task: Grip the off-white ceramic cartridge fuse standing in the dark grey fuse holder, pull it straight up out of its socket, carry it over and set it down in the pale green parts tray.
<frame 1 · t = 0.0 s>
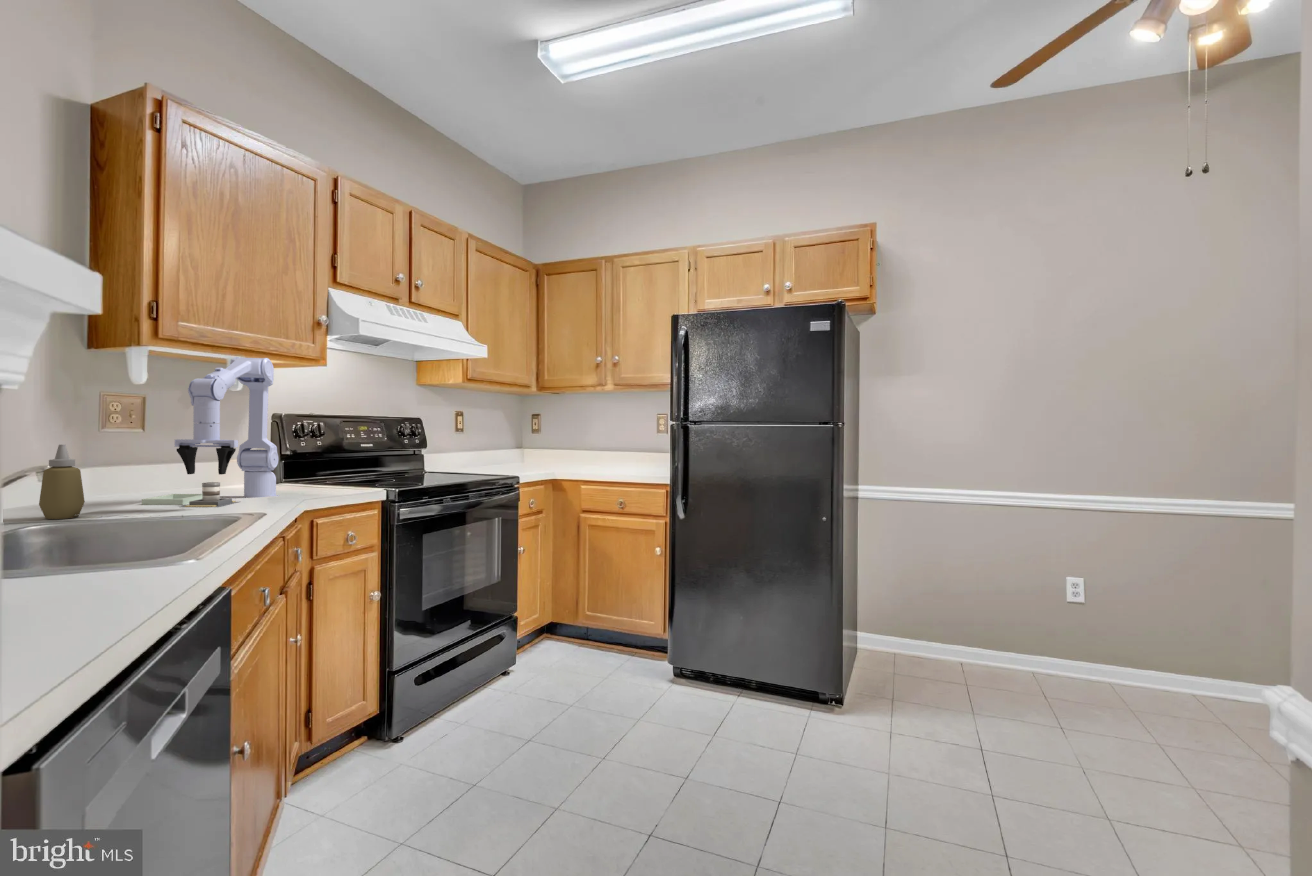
hand: (206, 474, 164), 10 cm above the worktop, fingers open, 7 cm apart
parts tray: (177, 505, 176), on the worktop
fuse: (211, 504, 172), point 1 cm above the worktop, touching fuse holder
fuse holder: (211, 507, 172), on the worktop
squeeze bottle: (62, 518, 151), on the worktop
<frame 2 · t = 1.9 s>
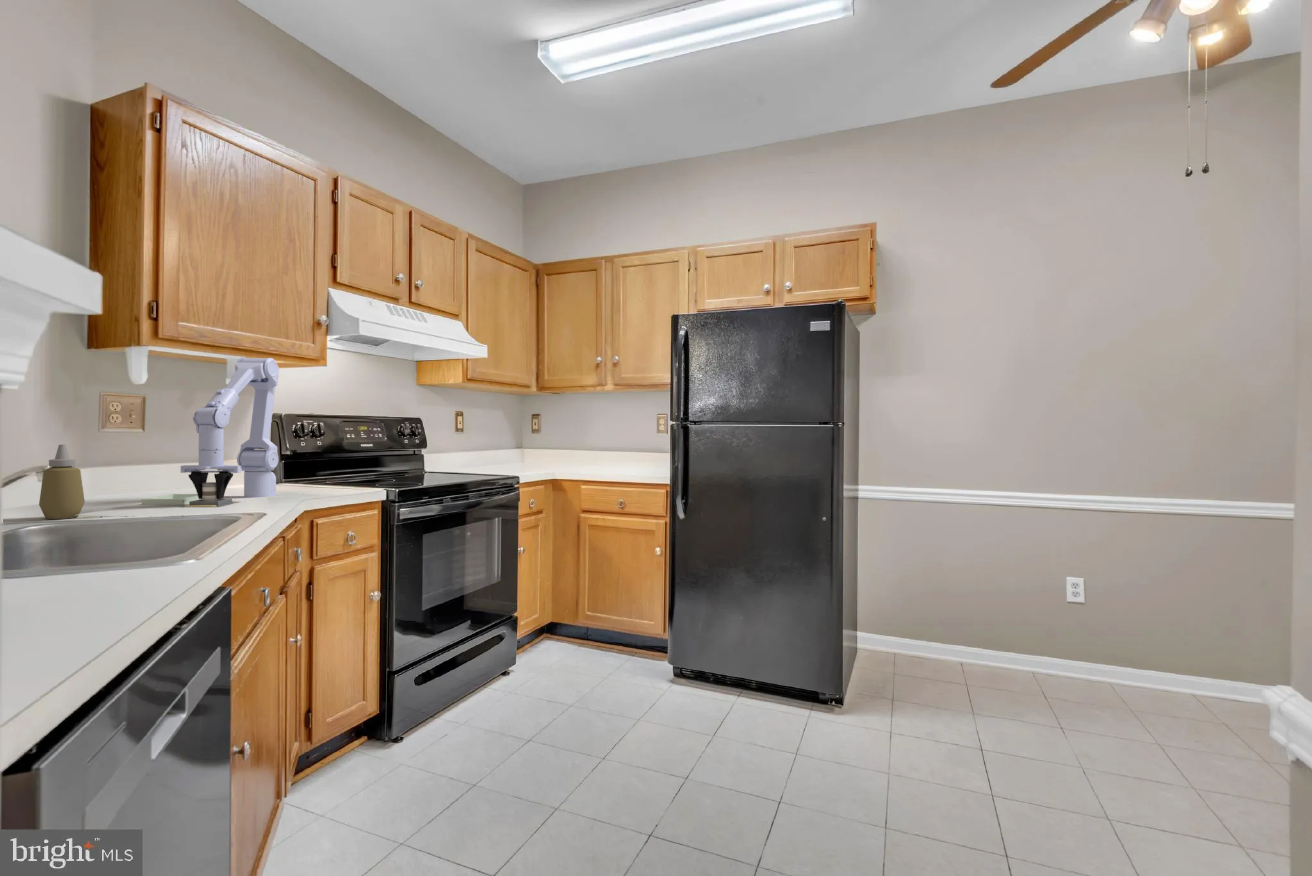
hand: (211, 498, 172), 3 cm above the worktop, fingers closed on fuse, 4 cm apart
fuse: (211, 504, 172), point 1 cm above the worktop, touching fuse holder, gripper
everything else where it was.
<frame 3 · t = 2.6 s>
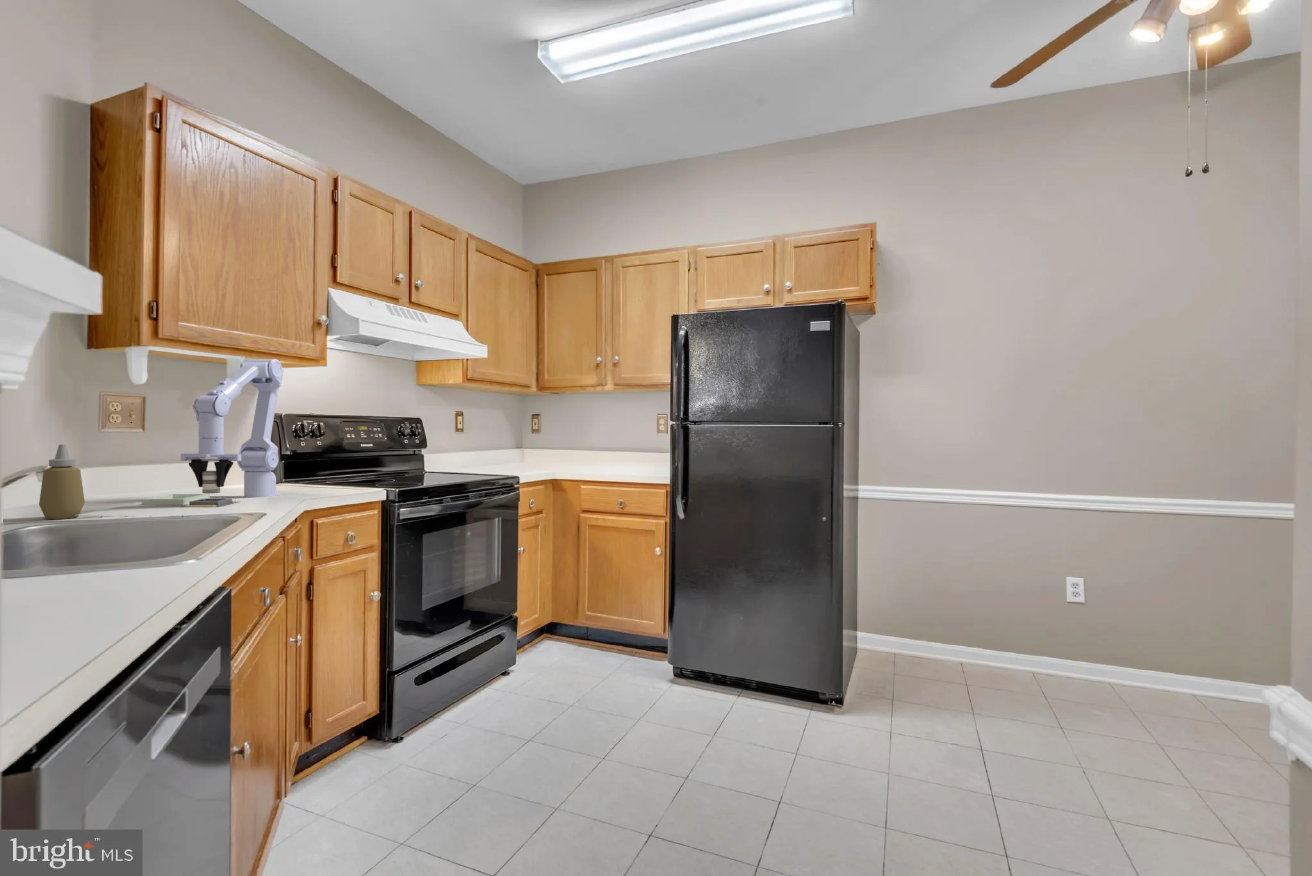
hand: (211, 486, 172), 6 cm above the worktop, fingers closed on fuse, 4 cm apart
fuse: (211, 492, 172), point 4 cm above the worktop, touching gripper
everything else where it was.
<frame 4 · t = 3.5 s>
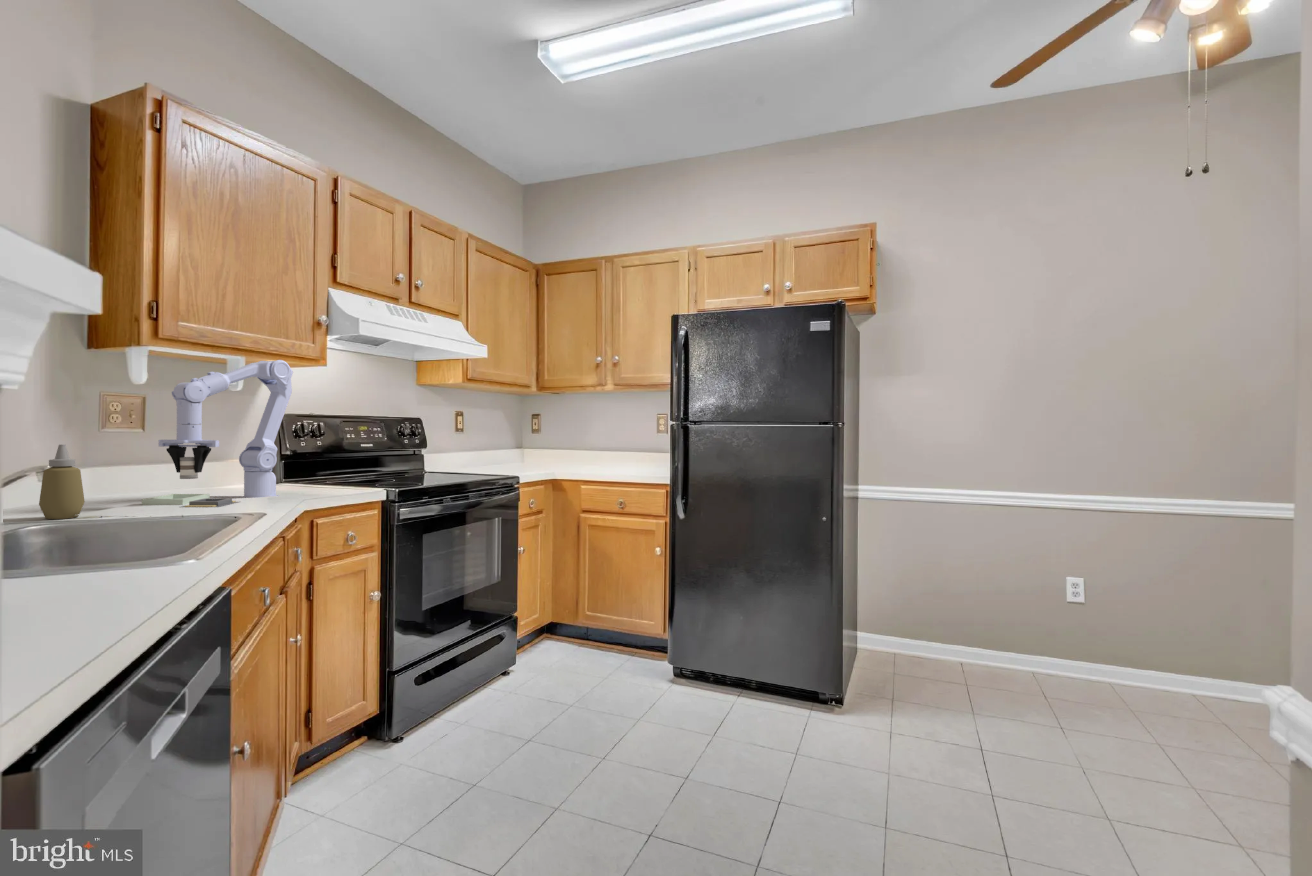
hand: (189, 472, 175), 10 cm above the worktop, fingers closed on fuse, 4 cm apart
fuse: (188, 478, 174), point 8 cm above the worktop, touching gripper
everything else where it was.
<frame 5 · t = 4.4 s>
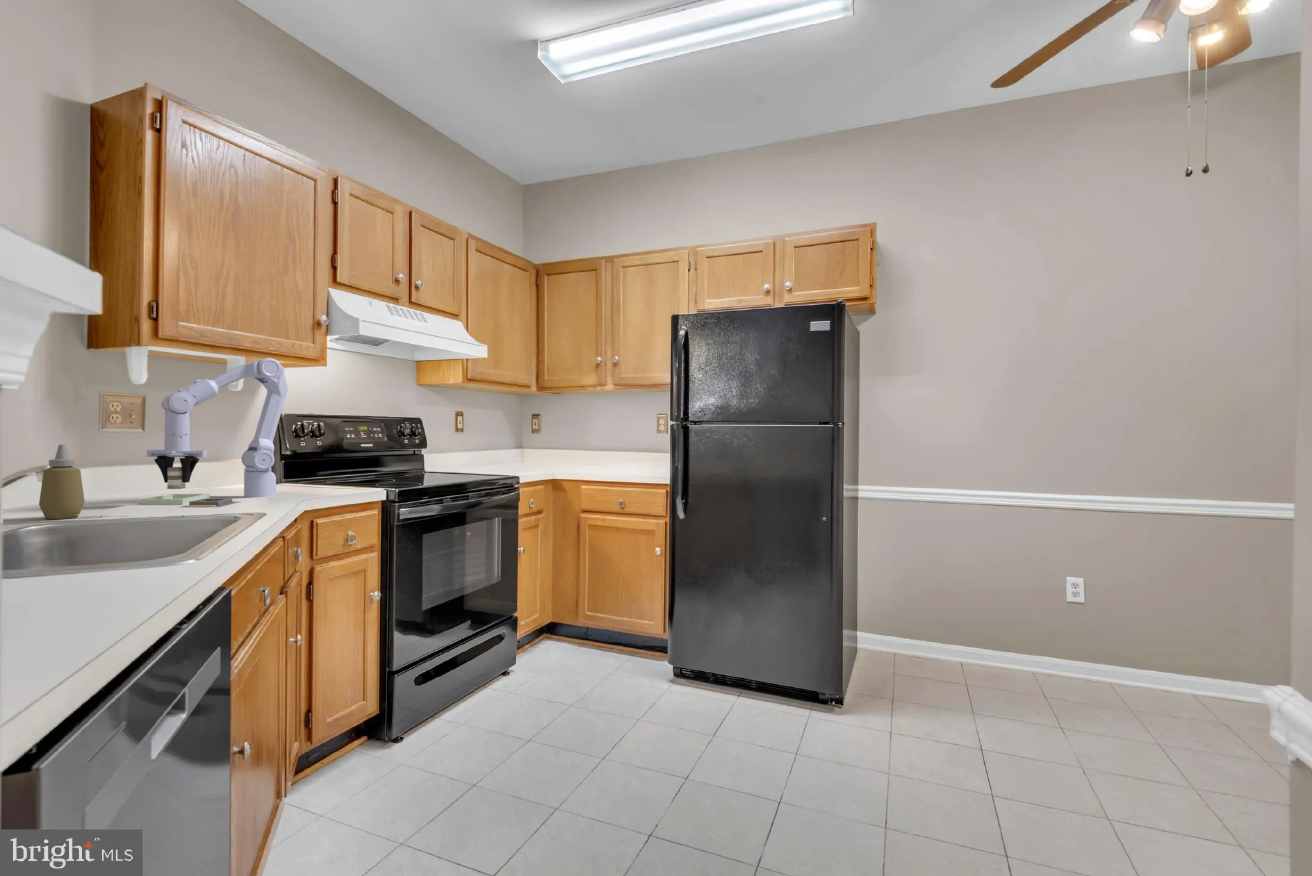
hand: (177, 482, 176), 7 cm above the worktop, fingers closed on fuse, 4 cm apart
fuse: (176, 488, 176), point 5 cm above the worktop, touching gripper
everything else where it was.
when the fingers open (4 cm above the worktop, at t = 5.3 s): fuse drops 1 cm, resting on parts tray.
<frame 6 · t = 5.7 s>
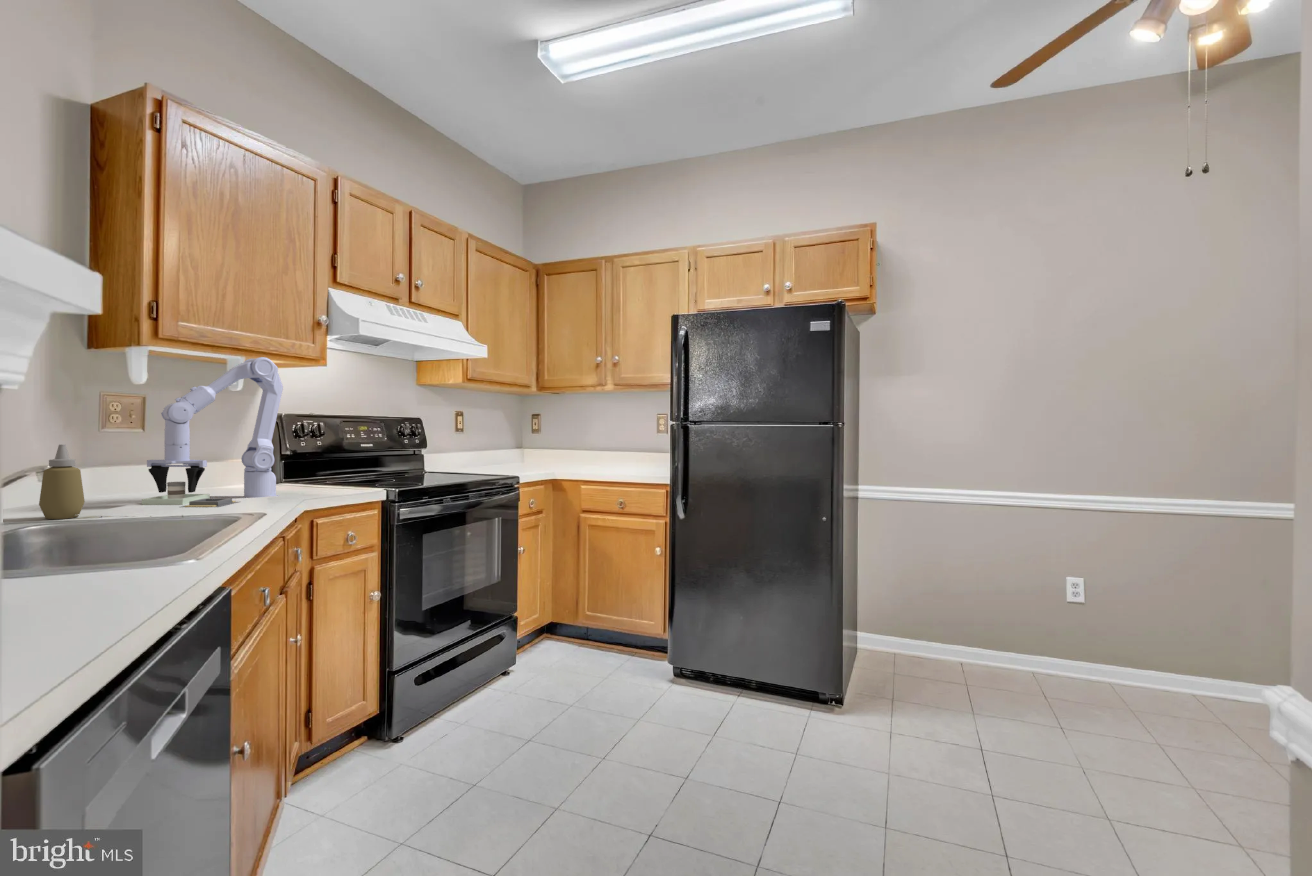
hand: (177, 492, 176), 4 cm above the worktop, fingers open, 7 cm apart
fuse: (176, 503, 176), point 1 cm above the worktop, touching parts tray
everything else where it was.
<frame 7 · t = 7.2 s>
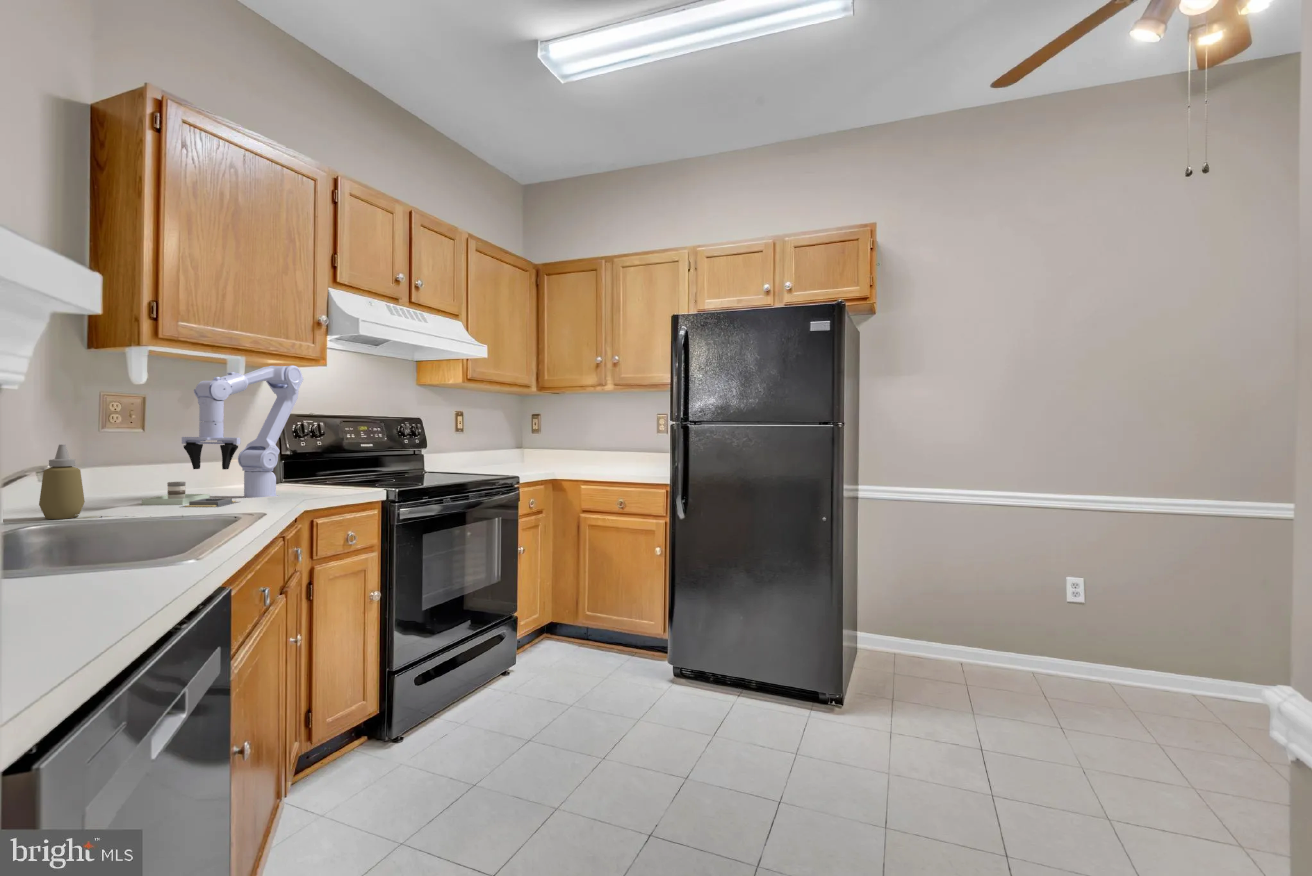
hand: (211, 469, 177), 10 cm above the worktop, fingers open, 7 cm apart
nothing on the worktop moved.
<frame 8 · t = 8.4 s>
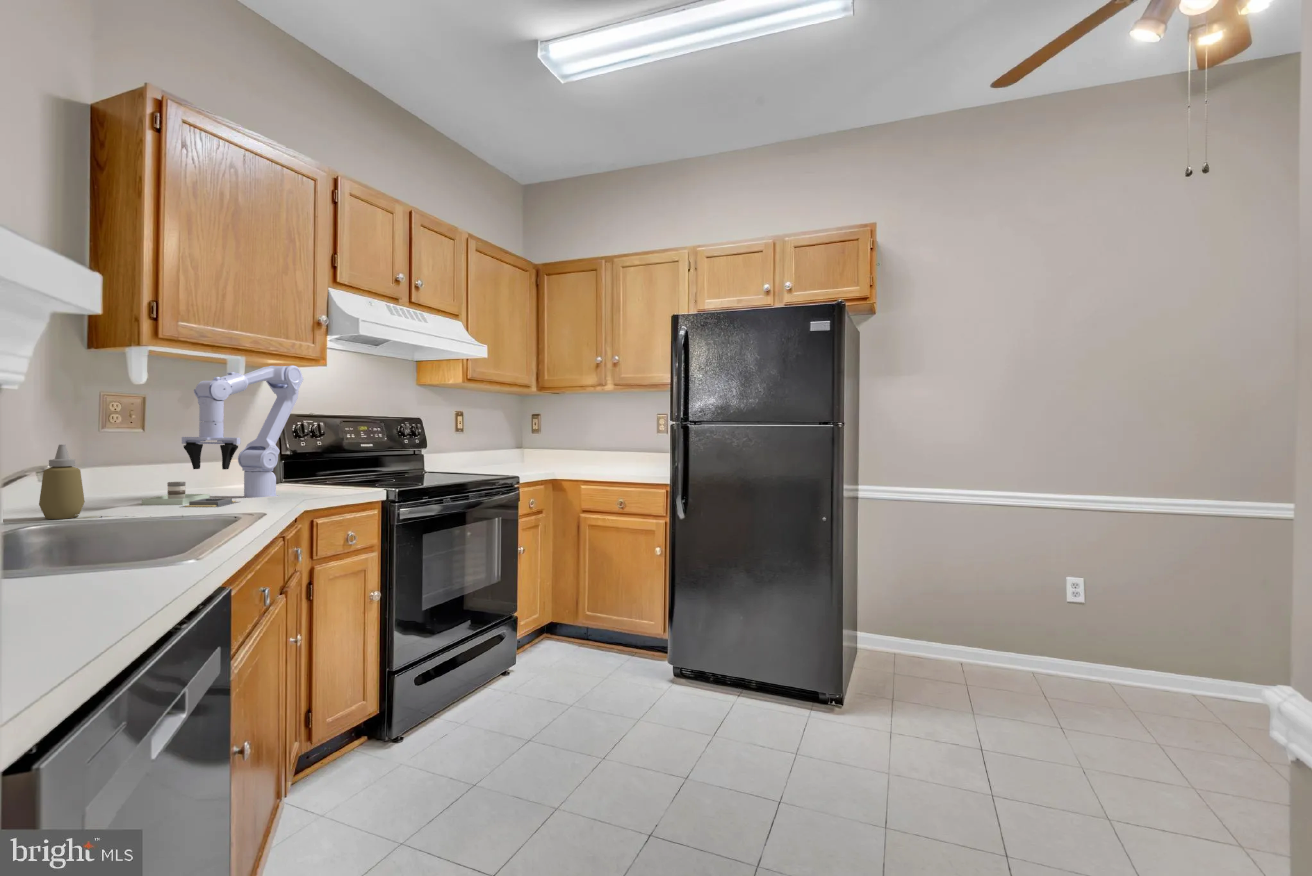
hand: (211, 469, 177), 10 cm above the worktop, fingers open, 7 cm apart
nothing on the worktop moved.
at the end: fuse inside the target area on the parts tray (0.3 cm from its centre), point 0.6 cm above the parts tray's base; the gripper is holding nothing; fuse touching parts tray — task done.
